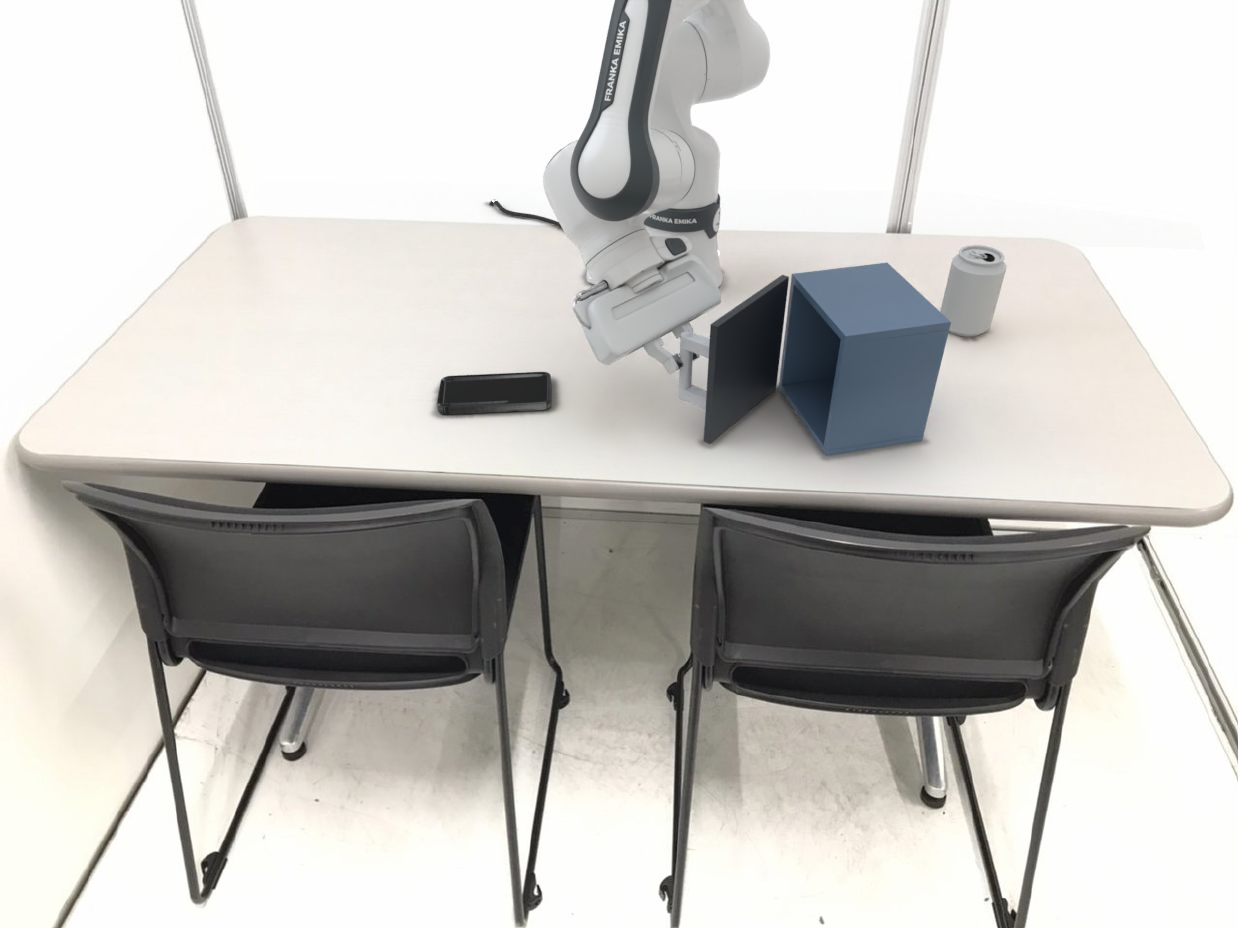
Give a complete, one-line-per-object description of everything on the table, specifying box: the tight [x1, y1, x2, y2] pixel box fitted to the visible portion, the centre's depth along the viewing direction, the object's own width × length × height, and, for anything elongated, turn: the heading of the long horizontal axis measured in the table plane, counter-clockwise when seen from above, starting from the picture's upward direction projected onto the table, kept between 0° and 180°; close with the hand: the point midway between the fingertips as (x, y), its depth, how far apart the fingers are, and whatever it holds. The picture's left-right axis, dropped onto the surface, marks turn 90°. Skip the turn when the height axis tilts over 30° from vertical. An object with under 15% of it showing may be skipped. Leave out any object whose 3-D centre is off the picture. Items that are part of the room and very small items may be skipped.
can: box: [939, 244, 1007, 338], centre depth 133 cm, size 8×8×12 cm
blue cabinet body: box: [778, 262, 951, 457], centre depth 114 cm, size 13×16×17 cm
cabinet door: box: [677, 274, 790, 445], centre depth 115 cm, size 6×16×17 cm, turn 141°
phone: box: [436, 371, 552, 415], centre depth 123 cm, size 8×1×15 cm
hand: (685, 365), depth 113 cm, fingers closed on cabinet door, 2 cm apart
